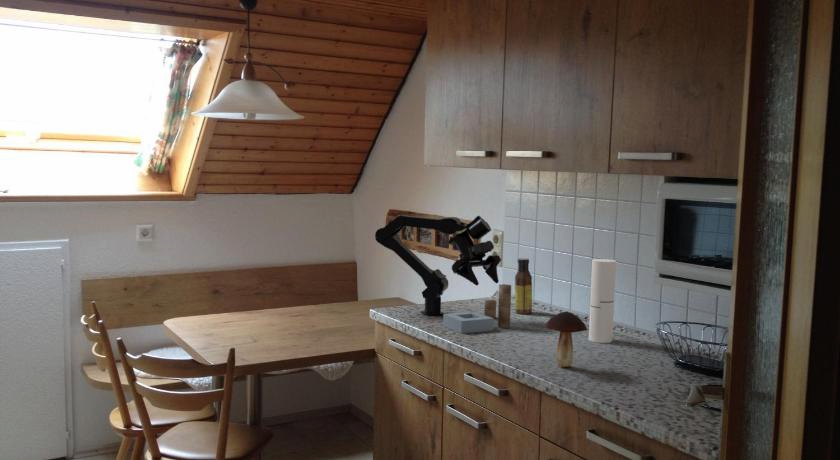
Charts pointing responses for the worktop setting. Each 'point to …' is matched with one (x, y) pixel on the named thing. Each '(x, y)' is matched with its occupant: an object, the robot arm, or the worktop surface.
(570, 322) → the decorative mushroom
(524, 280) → the sauce bottle
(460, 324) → the sleeve block
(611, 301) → the cylindrical container
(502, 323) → the tall walnut pin
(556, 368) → the worktop surface
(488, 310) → the short walnut pin
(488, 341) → the worktop surface
